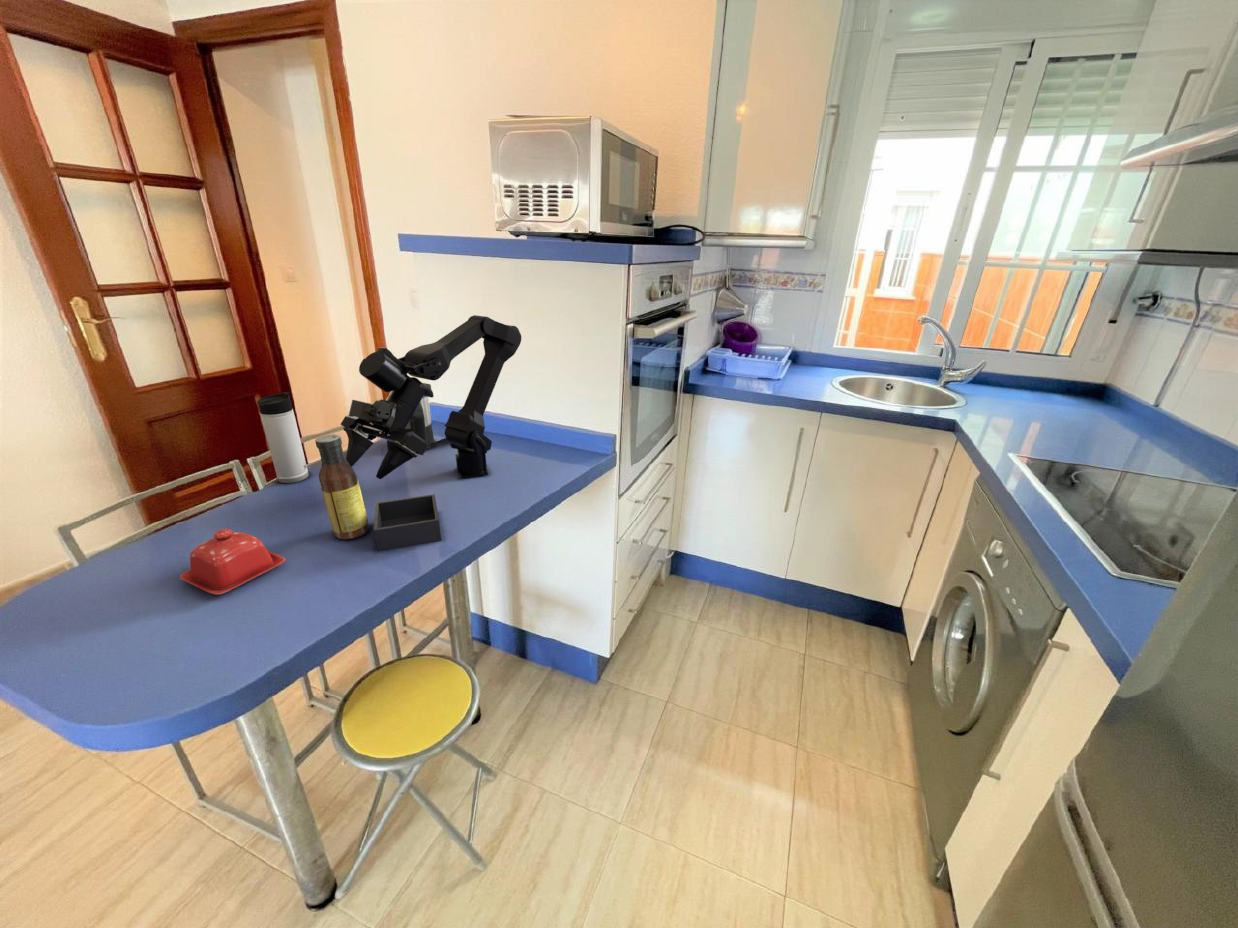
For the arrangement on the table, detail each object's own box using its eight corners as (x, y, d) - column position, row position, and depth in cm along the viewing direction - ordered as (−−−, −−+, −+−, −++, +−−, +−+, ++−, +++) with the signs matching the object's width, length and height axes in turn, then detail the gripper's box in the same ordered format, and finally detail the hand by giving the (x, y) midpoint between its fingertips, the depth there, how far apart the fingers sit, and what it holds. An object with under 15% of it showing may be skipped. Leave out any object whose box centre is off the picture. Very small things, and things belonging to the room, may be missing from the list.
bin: (437, 512, 106) (434, 494, 104) (441, 540, 96) (438, 519, 95) (379, 521, 102) (375, 502, 100) (377, 551, 92) (373, 530, 90)
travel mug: (316, 475, 120) (297, 394, 112) (289, 485, 115) (267, 401, 107) (298, 469, 123) (279, 390, 115) (271, 480, 117) (249, 397, 109)
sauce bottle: (375, 525, 100) (358, 432, 92) (358, 542, 95) (337, 445, 87) (344, 523, 101) (324, 430, 93) (325, 539, 95) (301, 442, 87)
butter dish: (250, 548, 92) (237, 507, 88) (291, 565, 87) (279, 523, 84) (177, 582, 82) (160, 538, 79) (219, 604, 78) (202, 558, 74)
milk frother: (394, 444, 139) (385, 392, 133) (445, 431, 150) (440, 383, 144) (419, 459, 131) (411, 405, 125) (472, 444, 141) (467, 393, 135)
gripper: (340, 375, 99) (297, 444, 94) (406, 390, 91) (362, 466, 86) (381, 404, 108) (343, 468, 104) (444, 420, 100) (406, 490, 96)
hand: (362, 472), depth 97 cm, fingers open, 9 cm apart
